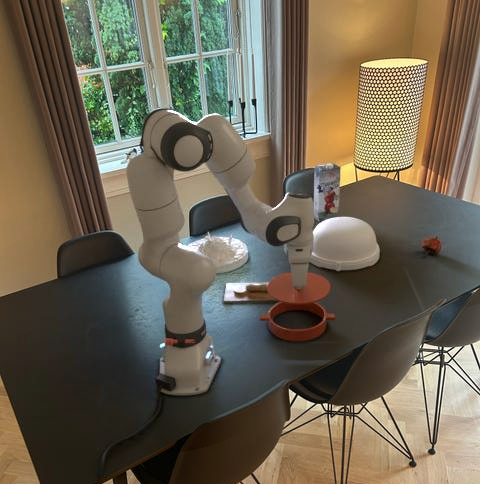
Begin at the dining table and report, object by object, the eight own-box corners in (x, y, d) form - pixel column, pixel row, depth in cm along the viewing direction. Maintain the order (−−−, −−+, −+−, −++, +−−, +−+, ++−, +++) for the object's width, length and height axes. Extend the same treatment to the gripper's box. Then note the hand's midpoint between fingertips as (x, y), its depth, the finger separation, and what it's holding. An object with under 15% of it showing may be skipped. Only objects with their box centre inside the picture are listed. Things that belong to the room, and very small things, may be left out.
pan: (337, 342, 156) (337, 330, 154) (259, 342, 158) (258, 331, 156) (331, 309, 172) (332, 298, 170) (261, 310, 174) (260, 299, 172)
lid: (333, 306, 149) (333, 293, 146) (266, 306, 151) (265, 294, 148) (327, 274, 165) (328, 262, 163) (267, 275, 167) (267, 263, 165)
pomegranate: (434, 264, 199) (449, 244, 199) (427, 253, 195) (443, 233, 195) (420, 259, 205) (435, 240, 205) (413, 249, 201) (428, 229, 201)
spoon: (274, 287, 185) (274, 281, 183) (274, 294, 181) (274, 287, 179) (234, 287, 186) (233, 281, 185) (233, 294, 182) (232, 288, 181)
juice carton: (311, 218, 240) (312, 162, 225) (331, 214, 242) (334, 158, 227) (319, 225, 233) (321, 167, 218) (340, 221, 235) (343, 163, 220)
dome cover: (377, 275, 190) (380, 241, 182) (299, 269, 198) (299, 236, 190) (381, 240, 215) (384, 209, 208) (312, 236, 223) (312, 206, 215)
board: (284, 302, 178) (284, 299, 177) (223, 303, 180) (223, 300, 179) (284, 284, 188) (284, 281, 188) (226, 285, 190) (226, 283, 190)
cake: (188, 279, 196) (186, 257, 191) (177, 250, 219) (174, 230, 214) (256, 266, 202) (255, 245, 196) (238, 240, 225) (237, 219, 219)
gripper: (287, 231, 158) (287, 269, 166) (288, 260, 141) (288, 302, 149) (307, 230, 158) (307, 269, 165) (310, 260, 141) (309, 301, 148)
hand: (298, 285), depth 157 cm, fingers closed on lid, 2 cm apart
